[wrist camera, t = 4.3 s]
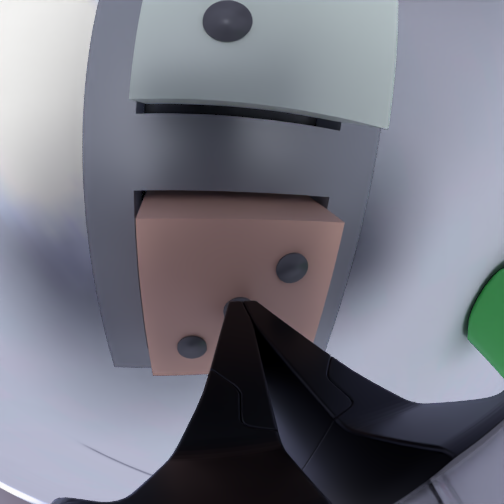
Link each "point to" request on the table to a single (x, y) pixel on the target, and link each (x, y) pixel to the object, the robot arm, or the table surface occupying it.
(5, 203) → the table surface
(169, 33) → the tile
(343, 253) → the board
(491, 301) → the bottle
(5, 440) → the table surface
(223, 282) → the tile
